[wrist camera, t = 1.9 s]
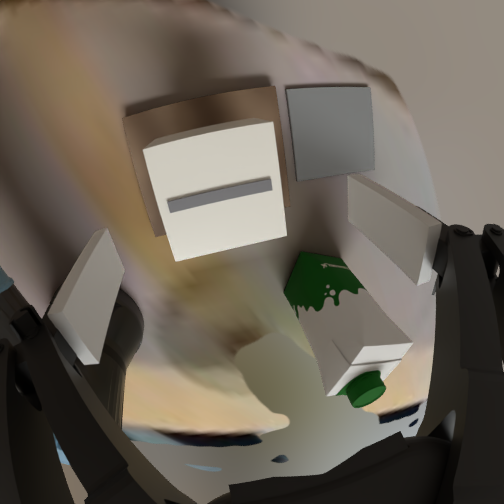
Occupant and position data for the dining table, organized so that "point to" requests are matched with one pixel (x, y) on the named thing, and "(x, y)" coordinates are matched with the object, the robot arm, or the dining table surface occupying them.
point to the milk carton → (344, 328)
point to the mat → (331, 131)
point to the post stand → (192, 117)
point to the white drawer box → (218, 186)
